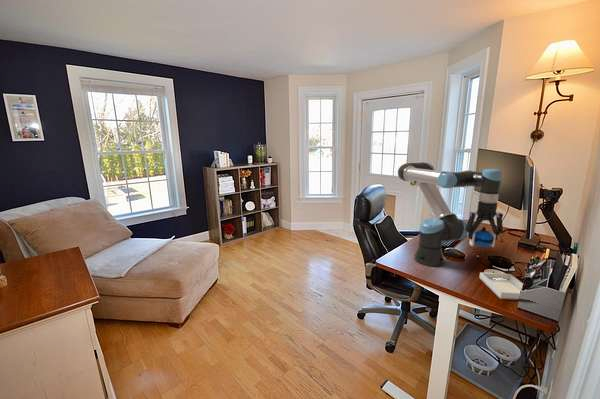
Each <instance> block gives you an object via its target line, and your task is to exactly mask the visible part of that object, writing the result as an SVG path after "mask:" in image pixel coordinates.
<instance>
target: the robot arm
mask: <svg viewBox="0 0 600 399" xmlns="http://www.w3.org/2000/svg"><path fill="white" fill-rule="evenodd" d="M502 175H503V171H502V169H497V168H485V169H483V170H482V172H480V171H474V170H473V171H472V170H463V171H458V172H456V171H454V172H453V171H452V172H451V171H444V170H436V169H435V167H434V166H433V165H432V164H431V163H429V162H424V161H421V162H406V163H404V164H402V165H401V166H399V168H398V169H397V176H398V178H399V179H400V180H401V181H404V182H410V183H411V182H414V184H415V186H416V187H419V188H420V190H421V192H422V194H423V197H424V198H425V199H426V202H427V204H428V205H429V208H430V209H431V211H432V214H433V215H434V217H435V218H427V219H426V218H425V219H423V220H422V221H421V222H420V224H419V234H418V235H419V237H418V245H417V248H416V249H415V252H414V256H413V259H414V261H415V262H417V263H419V264H421V265H425V266H428V267H440V266H443V265H444V262H445V258H444V254H443V251H442V249H443V248H442V246H443V243H446V242H447V243H448V242H457V241H460V240H464V239H465V238H466V236H467V234H468V239H469V245H470V246H471V247H474V245H475V243H474V239H475V232H476V231H477V228H478V227H479V226H480V225H481V223H483V221H484V222H485V221H487V222H489V224H490V227H491V230H492V232H490V233H491V235H492V236H493V242H492V243H491V244H490V245H489V246H491V247H492V248H495V244H496V241H497V240H498V237H499V235H500V234H503V233H504V230H503V216H504V213H501V212H497V209H498V202H499V195H500V189H501V184H502V179H503V178H502V177H503V176H502ZM438 186H440V187H441V188H443V189H451V188H463V187H465V188H466V187H475V188H479V196H478V200H479V201H478V202H477V210H476V211H475V212H473V211H470V212H469V217H468V219H467V223H466V221H465V220H463V219H461V218H458V216H457V215H456V214H455V213H454V212H451V210H450V208H449V206H448V205H447V203H446V201H445V199H444V198H443V196H442V194H441V192H440V190H439V188H438ZM495 217H496V223H495Z"/></svg>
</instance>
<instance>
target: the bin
mask: <svg viewBox="0 0 600 399" xmlns="http://www.w3.org/2000/svg"><path fill="white" fill-rule="evenodd" d="M478 278H479V280H480V281H482V283H484V285H486V286H487V287H488V288H489V289H490V290H491V291H492V292H493V293H494V294H495V295H496V296H497V297H498V298H499V299H500V300H513V301H514V300H515V301H516V300H517V301H519V300H518V299H519V296H520V291H521V288H522V285H523V284H524V283H523V282H521V280H519V279H518V278H517V277H516V276H514V275H513V274H511V273H502V272H501V273H496V272H479V277H478ZM493 278H503V279H507V280H496V279H493Z"/></svg>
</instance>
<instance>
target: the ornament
mask: <svg viewBox="0 0 600 399" xmlns="http://www.w3.org/2000/svg"><path fill="white" fill-rule="evenodd" d="M486 229H487V228H486V227H484V226H483V227H482V229H479V230H475V232H474V233H475V239H474V245H477V246H478V247H482V248H486V247H489V246H490V244H491V243H492V242H493V236H492V235H491V233H492V232H490V231H488V230H486Z"/></svg>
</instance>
